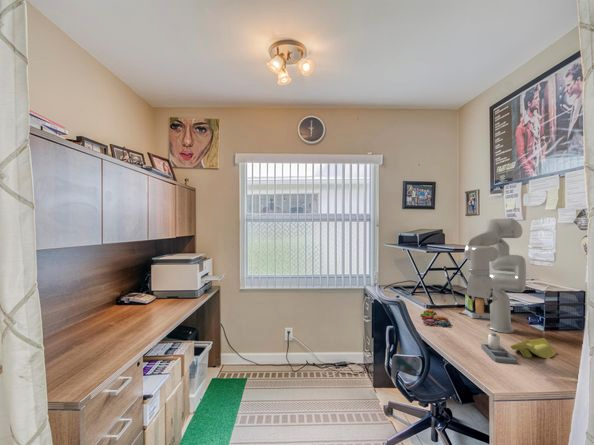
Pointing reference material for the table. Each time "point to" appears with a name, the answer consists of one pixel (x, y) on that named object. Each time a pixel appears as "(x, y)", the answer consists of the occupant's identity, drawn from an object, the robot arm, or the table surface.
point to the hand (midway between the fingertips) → (481, 311)
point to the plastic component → (534, 348)
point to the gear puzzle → (434, 319)
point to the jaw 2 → (493, 341)
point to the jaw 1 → (479, 305)
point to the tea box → (471, 312)
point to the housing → (499, 354)
